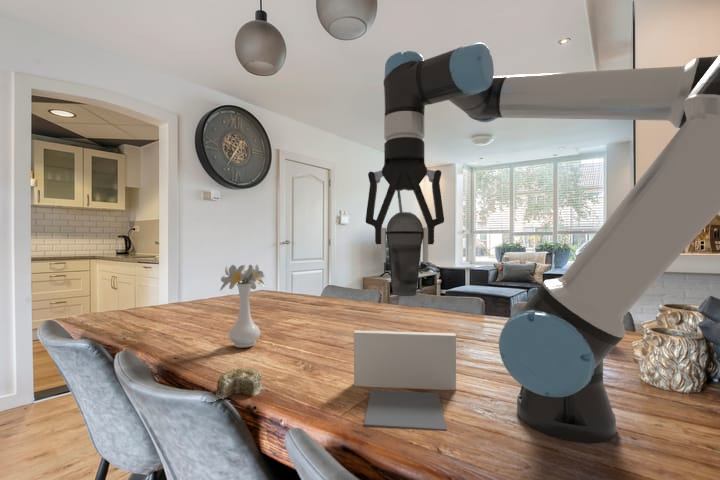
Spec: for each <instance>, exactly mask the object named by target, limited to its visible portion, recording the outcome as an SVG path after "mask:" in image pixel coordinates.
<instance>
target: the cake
mask: <svg viewBox="0 0 720 480" xmlns="http://www.w3.org/2000/svg"><path fill="white" fill-rule="evenodd" d="M264 390H265V388H264V385H263V384H262V374H261V372H259V371H257V370H256V369H252V368H236V369H233V370H230V371H226V372H225V373H222V374H221V375H220V376H219V378H218V379H217V385H216V389H215V391H214V395H215V394H217V395H220V396H222V397H224V398H225V399H226V398H228V397H230V396H231V395H233V394H235V395H236V394H244V395H248V396H250V397H255V396H257V395H259V393H261V392H263V391H264ZM227 400H228V399H227ZM227 402H231V400H228V401H227Z"/></svg>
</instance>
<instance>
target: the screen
mask: <svg viewBox="0 0 720 480" xmlns="http://www.w3.org/2000/svg"><path fill="white" fill-rule="evenodd" d="M353 386H354V387H365V388H367V387H369V388H370V387H371V388H372V387H373V388H391V389H392V388H394V389H419V390H421V389H422V390H446V391H447V390H448V391H456V390H457V335H456V333H455V332H453V333H452V332H429V331H428V332H424V331H423V332H421V331H420V332H419V331H392V330H385V331H384V330H360V329H359V330H357V329H356V330H354V332H353Z"/></svg>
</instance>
